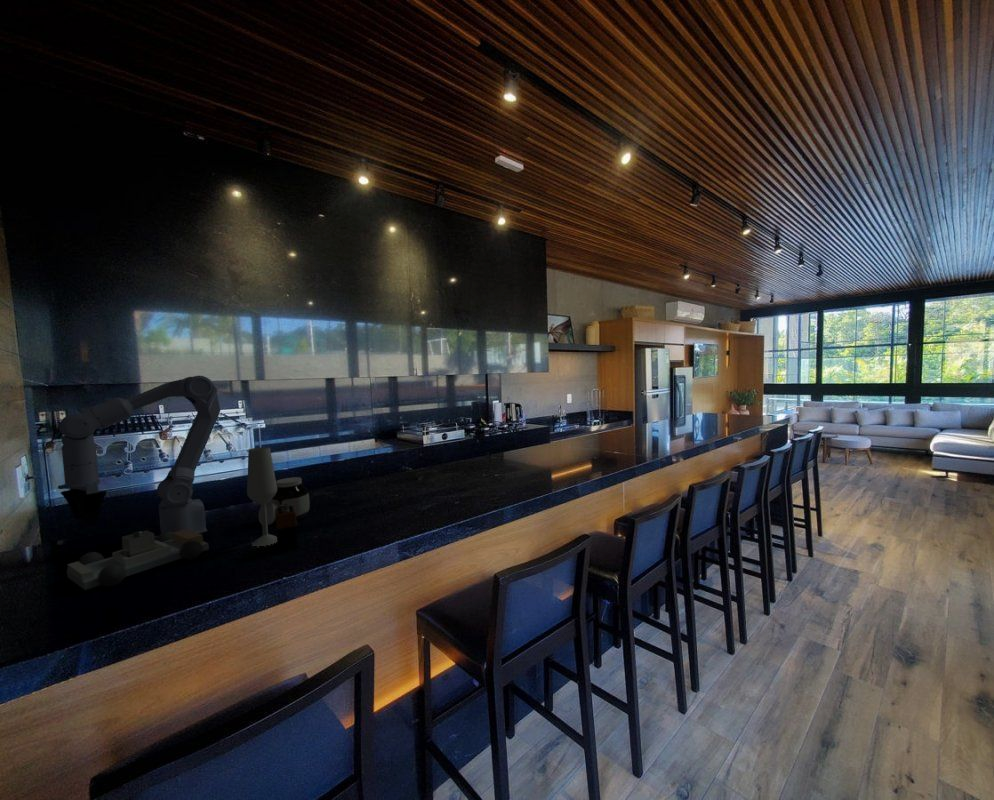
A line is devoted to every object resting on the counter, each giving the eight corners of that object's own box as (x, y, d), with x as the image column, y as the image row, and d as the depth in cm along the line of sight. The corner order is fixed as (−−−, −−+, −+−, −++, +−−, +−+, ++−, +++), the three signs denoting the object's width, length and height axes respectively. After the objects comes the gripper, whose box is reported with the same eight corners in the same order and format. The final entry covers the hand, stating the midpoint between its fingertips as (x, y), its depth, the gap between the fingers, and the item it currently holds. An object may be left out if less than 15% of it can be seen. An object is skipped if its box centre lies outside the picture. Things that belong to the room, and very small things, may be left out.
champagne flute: (253, 539, 107) (247, 448, 106) (282, 535, 110) (276, 445, 108) (248, 549, 101) (240, 452, 100) (278, 544, 103) (272, 449, 102)
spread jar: (314, 514, 127) (311, 476, 126) (292, 527, 116) (289, 486, 115) (277, 514, 128) (275, 477, 127) (252, 527, 117) (249, 486, 116)
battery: (296, 539, 106) (293, 501, 105) (298, 548, 100) (295, 508, 99) (277, 543, 104) (274, 504, 103) (278, 552, 98) (275, 511, 97)
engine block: (148, 551, 97) (146, 527, 97) (156, 554, 95) (153, 530, 94) (123, 558, 93) (121, 533, 93) (130, 562, 91) (128, 537, 91)
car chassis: (184, 541, 108) (183, 526, 108) (212, 552, 100) (211, 536, 99) (65, 577, 89) (63, 559, 89) (87, 594, 81) (85, 574, 81)
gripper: (48, 465, 99) (53, 520, 99) (65, 469, 91) (71, 530, 92) (88, 459, 105) (93, 512, 105) (108, 463, 97) (113, 520, 97)
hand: (86, 520), depth 99 cm, fingers open, 7 cm apart
